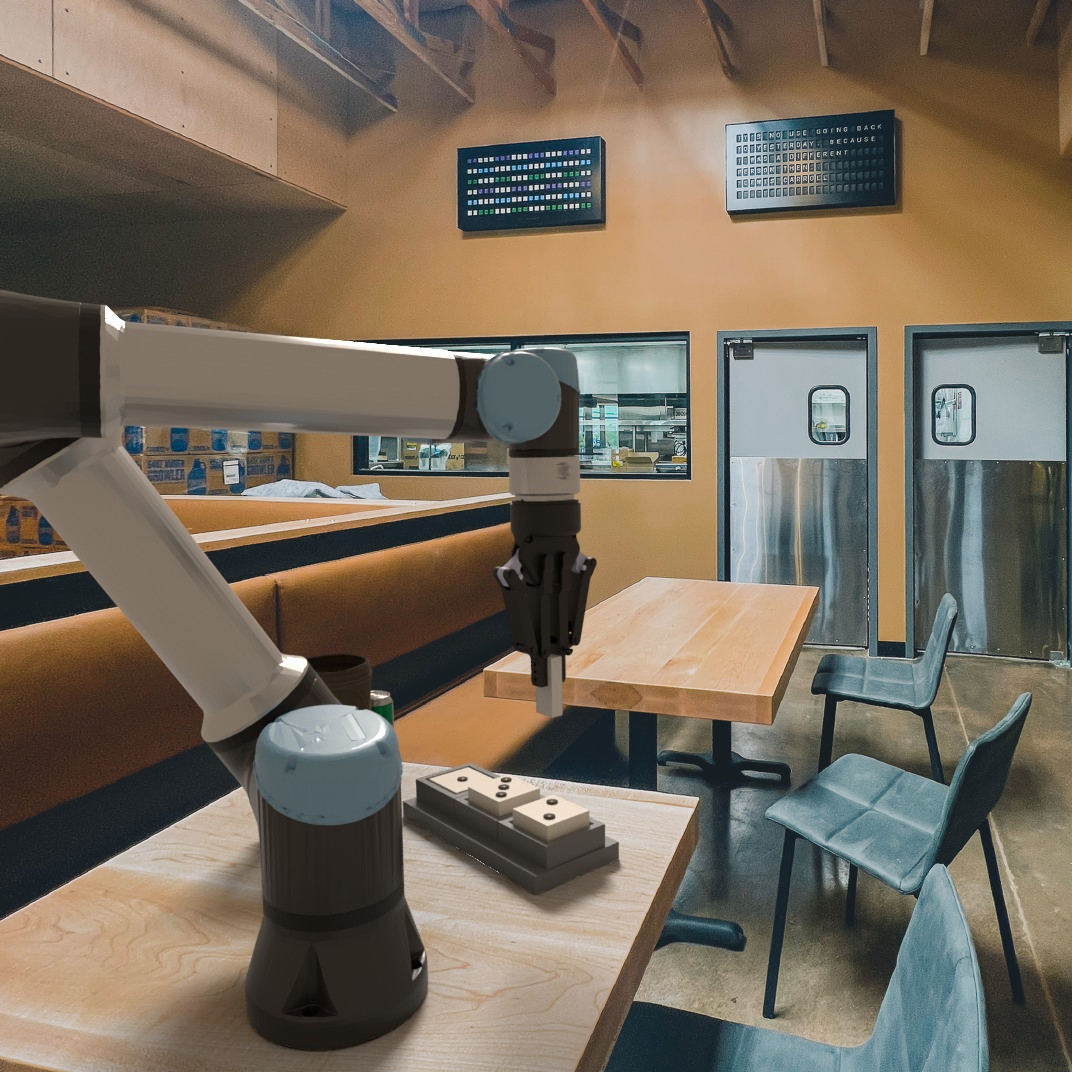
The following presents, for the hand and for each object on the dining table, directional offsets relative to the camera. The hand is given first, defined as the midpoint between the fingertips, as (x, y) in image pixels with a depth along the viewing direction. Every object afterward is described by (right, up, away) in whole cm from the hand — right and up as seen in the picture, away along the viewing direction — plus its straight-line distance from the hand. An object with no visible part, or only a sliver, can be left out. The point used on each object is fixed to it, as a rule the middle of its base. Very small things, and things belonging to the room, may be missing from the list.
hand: (549, 713), depth 98 cm
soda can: (-24, -15, +27) cm, 39 cm away
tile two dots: (0, -13, +1) cm, 13 cm away
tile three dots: (-5, -13, +8) cm, 16 cm away
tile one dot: (-11, -14, +15) cm, 22 cm away
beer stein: (-28, -16, +14) cm, 36 cm away
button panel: (-5, -16, +8) cm, 19 cm away
